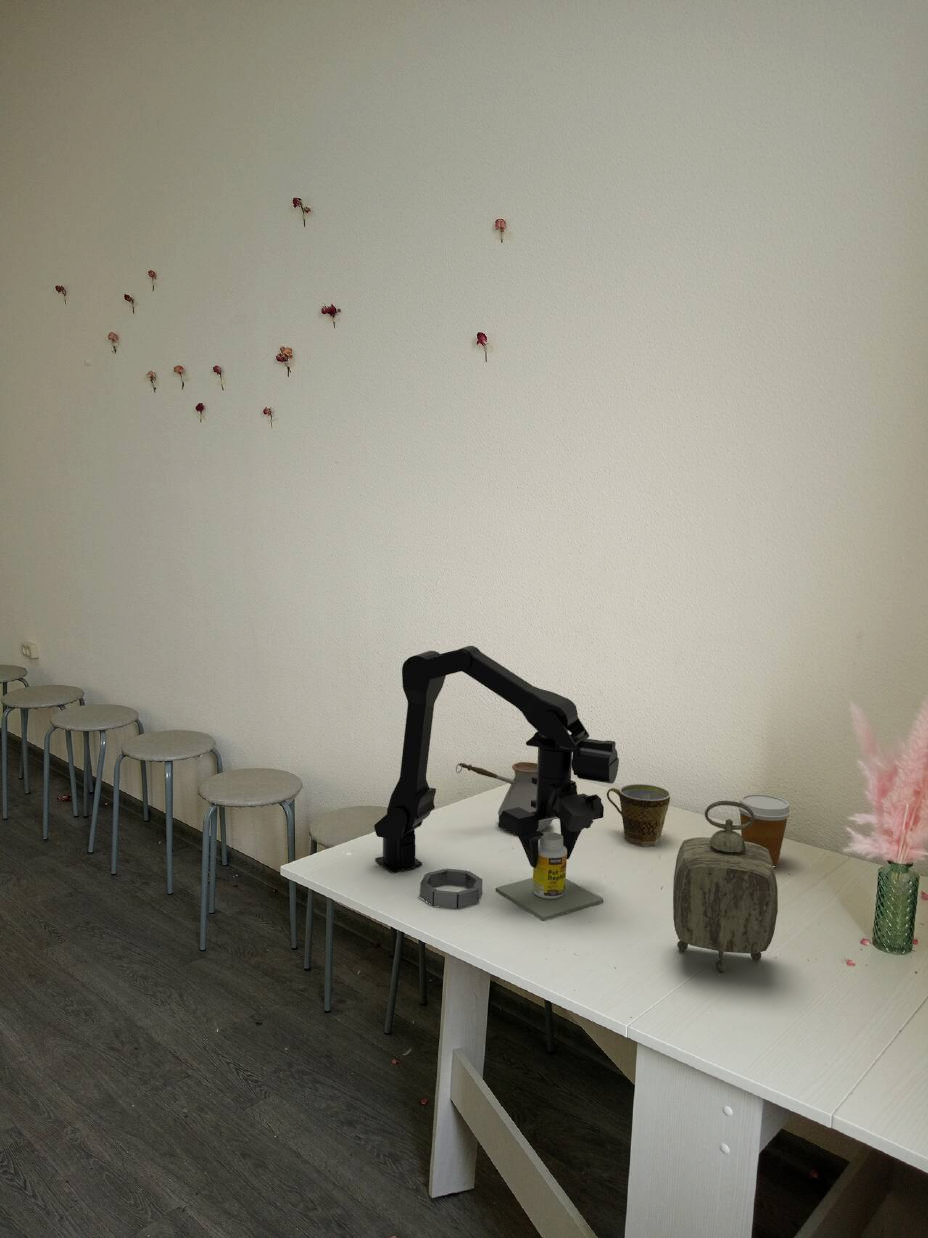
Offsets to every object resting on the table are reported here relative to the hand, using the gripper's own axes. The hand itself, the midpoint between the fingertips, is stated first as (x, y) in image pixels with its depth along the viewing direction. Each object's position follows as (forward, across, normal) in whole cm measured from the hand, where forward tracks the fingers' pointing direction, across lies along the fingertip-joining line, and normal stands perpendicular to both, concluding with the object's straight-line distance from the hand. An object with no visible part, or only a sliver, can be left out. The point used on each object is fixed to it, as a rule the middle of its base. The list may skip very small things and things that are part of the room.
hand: (550, 862), depth 159 cm
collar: (+6, -14, +9) cm, 18 cm away
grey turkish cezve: (+6, +12, +29) cm, 32 cm away
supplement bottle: (+6, 0, 0) cm, 6 cm away
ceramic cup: (+6, +32, +12) cm, 35 cm away
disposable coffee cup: (+6, +44, -9) cm, 45 cm away
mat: (+6, 0, 0) cm, 6 cm away
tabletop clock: (+6, +7, -31) cm, 32 cm away
